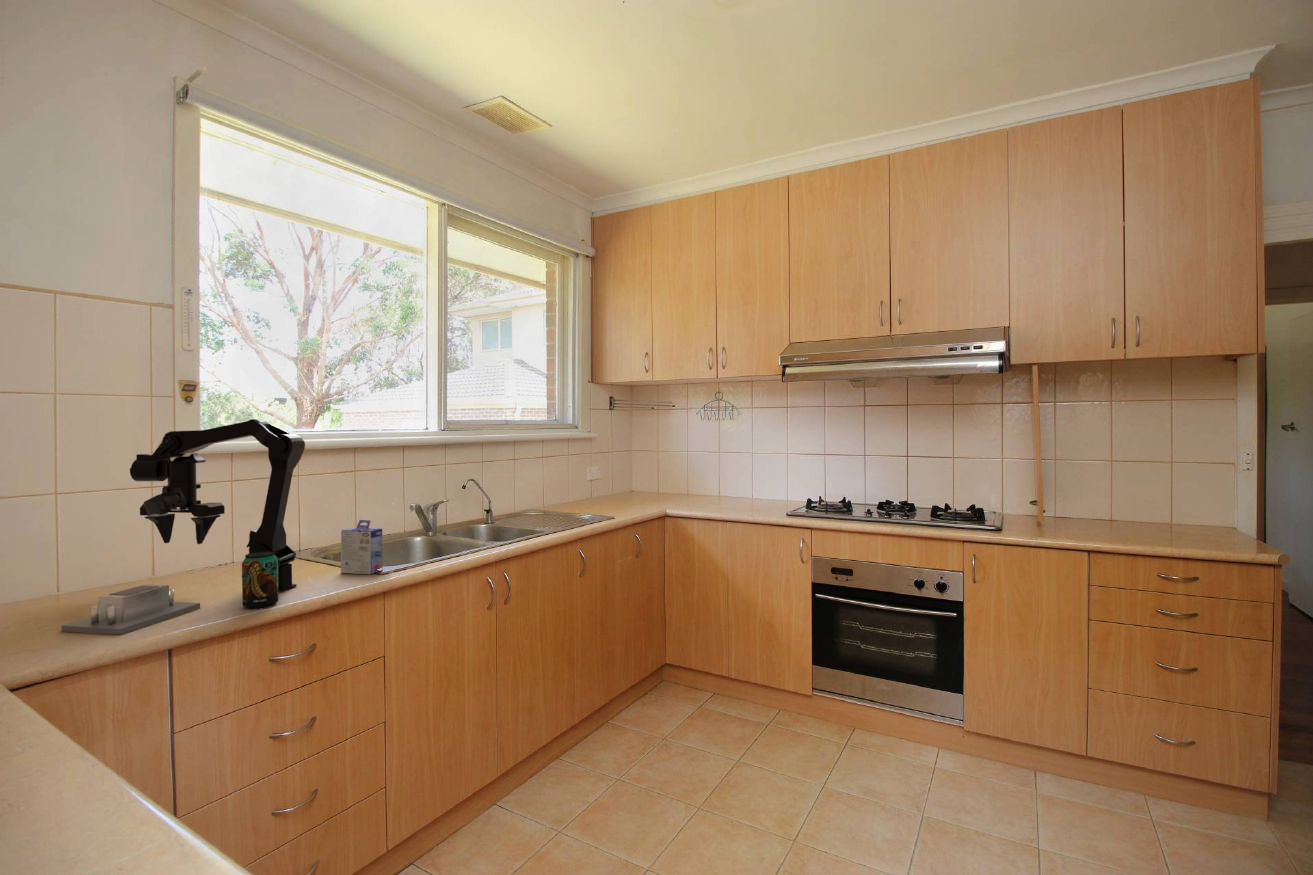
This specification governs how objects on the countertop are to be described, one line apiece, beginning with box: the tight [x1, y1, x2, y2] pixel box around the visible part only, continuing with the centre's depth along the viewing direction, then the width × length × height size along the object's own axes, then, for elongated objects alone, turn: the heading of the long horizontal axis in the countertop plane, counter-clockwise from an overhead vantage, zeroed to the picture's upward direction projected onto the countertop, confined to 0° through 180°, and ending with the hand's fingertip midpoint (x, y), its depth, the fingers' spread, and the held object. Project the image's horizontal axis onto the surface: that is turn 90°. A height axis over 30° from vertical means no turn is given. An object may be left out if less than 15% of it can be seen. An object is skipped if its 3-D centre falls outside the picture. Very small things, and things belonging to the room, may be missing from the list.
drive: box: [98, 583, 170, 622], centre depth 133 cm, size 6×10×5 cm, turn 170°
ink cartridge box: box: [340, 519, 383, 575], centre depth 175 cm, size 10×6×14 cm, turn 78°
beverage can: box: [241, 552, 280, 610], centre depth 143 cm, size 7×7×12 cm
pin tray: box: [60, 588, 201, 635], centre depth 133 cm, size 14×18×5 cm
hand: (183, 543), depth 155 cm, fingers open, 9 cm apart
